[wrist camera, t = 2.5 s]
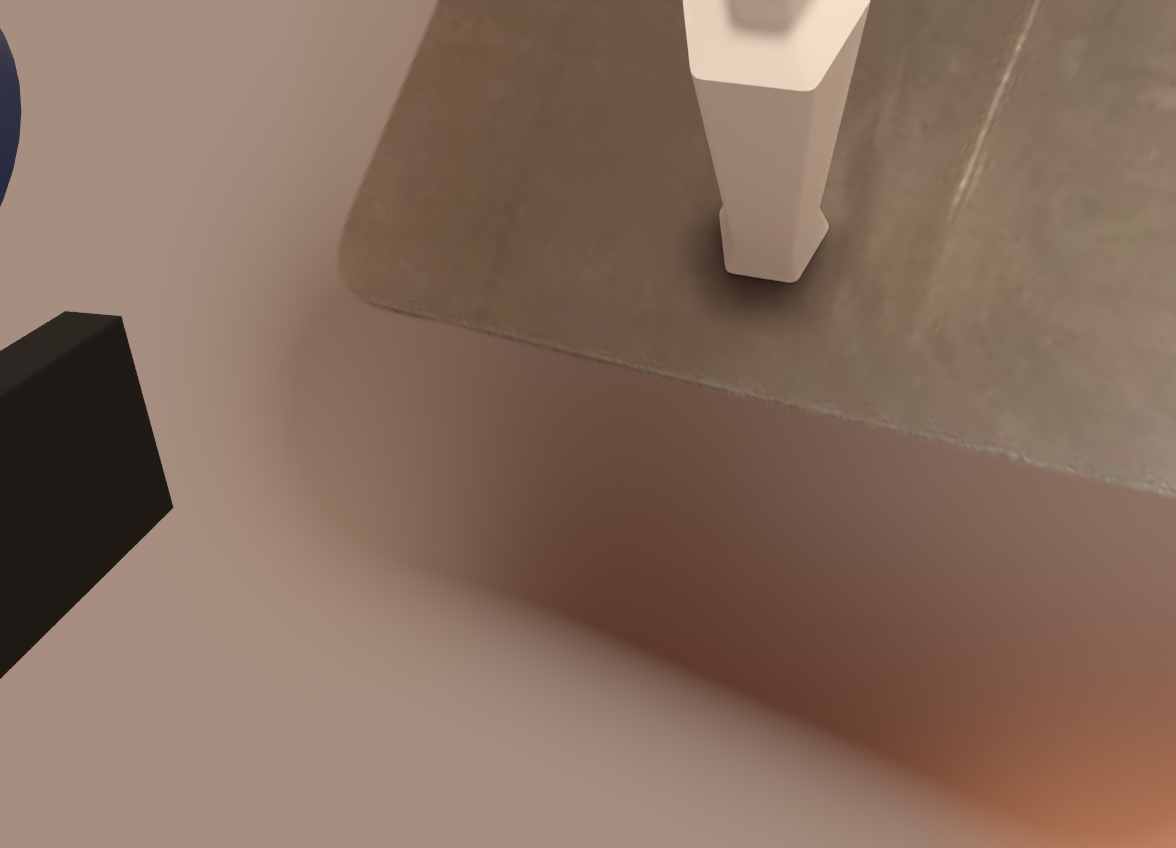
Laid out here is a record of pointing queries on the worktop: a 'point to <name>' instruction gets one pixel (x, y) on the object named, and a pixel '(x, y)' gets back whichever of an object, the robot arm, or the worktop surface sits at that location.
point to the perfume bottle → (772, 119)
